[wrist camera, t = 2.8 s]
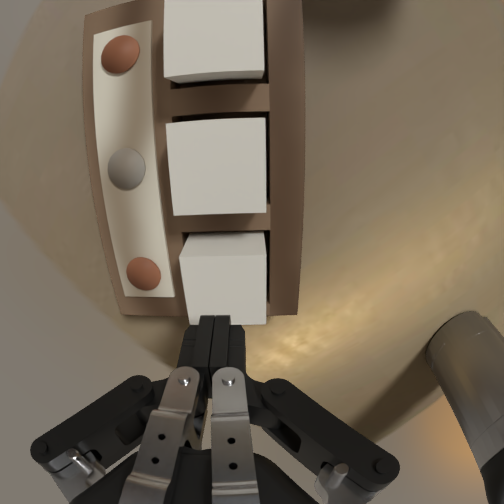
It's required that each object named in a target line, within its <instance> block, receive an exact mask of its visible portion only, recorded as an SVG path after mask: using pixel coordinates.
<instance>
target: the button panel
mask: <svg viewBox="0 0 504 504" xmlns="http://www.w3.org/2000/svg"><path fill="white" fill-rule="evenodd" d="M262 4H263V36H264V73H263V76H262V79H238V80H218V81H205V82H193V83H184V84H179V83H176V82H174V81H171V80H169V79H167V78H164V0H135V1H131V2H127V3H123V4H119V5H116V6H112V7H109V8H106V9H103V10H99V11H96V12H93V13H90V14H88V15H85V20H84V34H83V70H82V72H83V108H84V124H85V136H86V146H87V156H88V164H89V172H90V179H91V185H92V192H93V198H94V204H95V209H96V215H97V220H98V225H99V230H100V235H101V239H102V244H103V248H104V252H105V257H106V261H107V265H108V269H109V273H110V276H111V280H112V284H113V287H114V291H115V295H116V298H117V301H118V305H119V308H120V311H121V314H124V315H147V316H188V311H187V305H186V299H185V293H184V287H183V281H182V274H181V267H180V260H179V256H180V254H181V251H182V249H183V247H184V245H185V243H186V241H187V238H188V236H189V234H190V233H210V232H249V231H264V239H265V247H266V316H278V315H297V311H298V298H299V284H300V269H301V252H302V233H303V210H304V180H305V61H304V33H303V13H302V0H262ZM230 118H265V129H266V213H233V214H203V215H179V216H174V214H173V205H172V195H171V185H170V174H169V163H168V150H167V135H166V124H168V123H176V122H186V121H197V120H212V119H230Z"/></svg>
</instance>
